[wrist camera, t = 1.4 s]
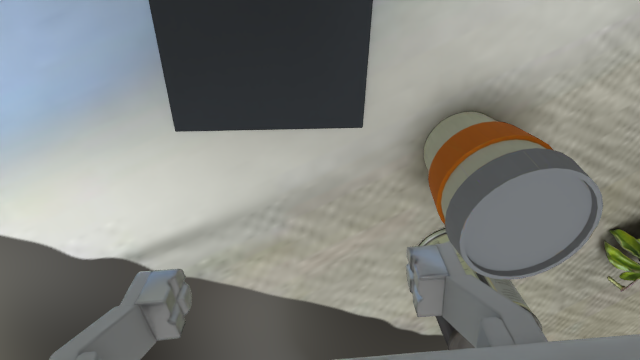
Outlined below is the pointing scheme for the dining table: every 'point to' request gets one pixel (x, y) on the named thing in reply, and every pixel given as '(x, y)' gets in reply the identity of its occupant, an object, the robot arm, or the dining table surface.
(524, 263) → the reusable coffee cup
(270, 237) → the dining table surface
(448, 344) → the coffee can
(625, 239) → the passion flower
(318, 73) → the mat
